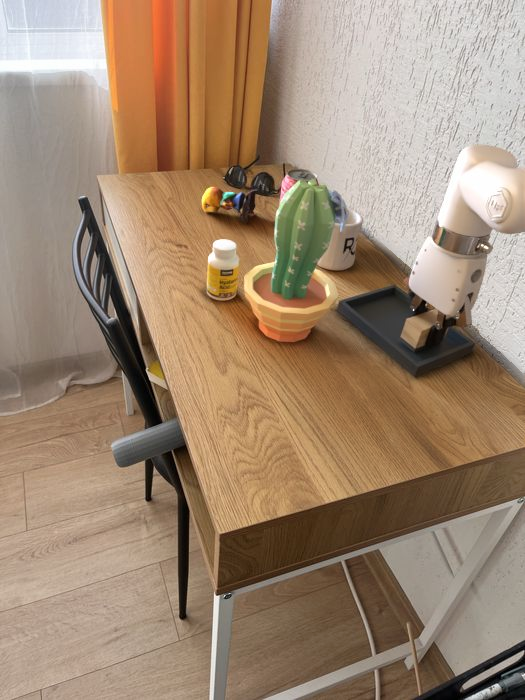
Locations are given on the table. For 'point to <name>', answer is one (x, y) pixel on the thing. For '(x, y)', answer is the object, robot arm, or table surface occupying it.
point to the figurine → (229, 202)
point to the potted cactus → (297, 264)
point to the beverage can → (296, 179)
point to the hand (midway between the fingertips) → (423, 335)
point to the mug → (342, 243)
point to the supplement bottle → (222, 270)
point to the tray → (400, 329)
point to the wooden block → (418, 330)
